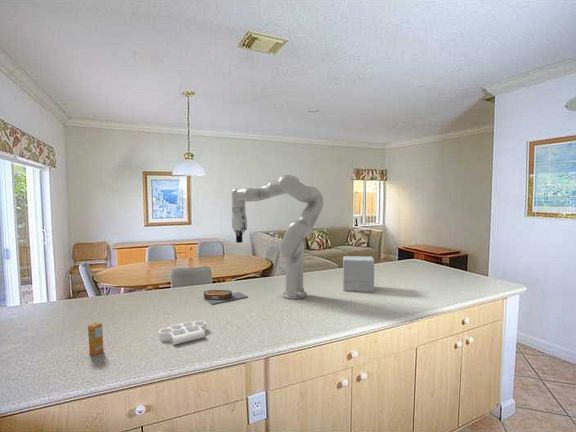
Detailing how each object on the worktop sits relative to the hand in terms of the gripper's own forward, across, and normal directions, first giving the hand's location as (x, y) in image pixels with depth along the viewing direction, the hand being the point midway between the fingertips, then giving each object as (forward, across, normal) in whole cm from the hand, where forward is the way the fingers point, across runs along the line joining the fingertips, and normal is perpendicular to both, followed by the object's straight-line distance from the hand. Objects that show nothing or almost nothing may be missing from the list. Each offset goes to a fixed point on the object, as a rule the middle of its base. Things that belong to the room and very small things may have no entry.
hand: (239, 242), depth 187 cm
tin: (+26, -5, +15) cm, 30 cm away
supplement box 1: (+28, -37, +78) cm, 90 cm away
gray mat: (+27, -11, +15) cm, 33 cm away
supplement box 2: (+28, -42, -54) cm, 74 cm away
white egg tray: (+28, -42, +49) cm, 70 cm away
